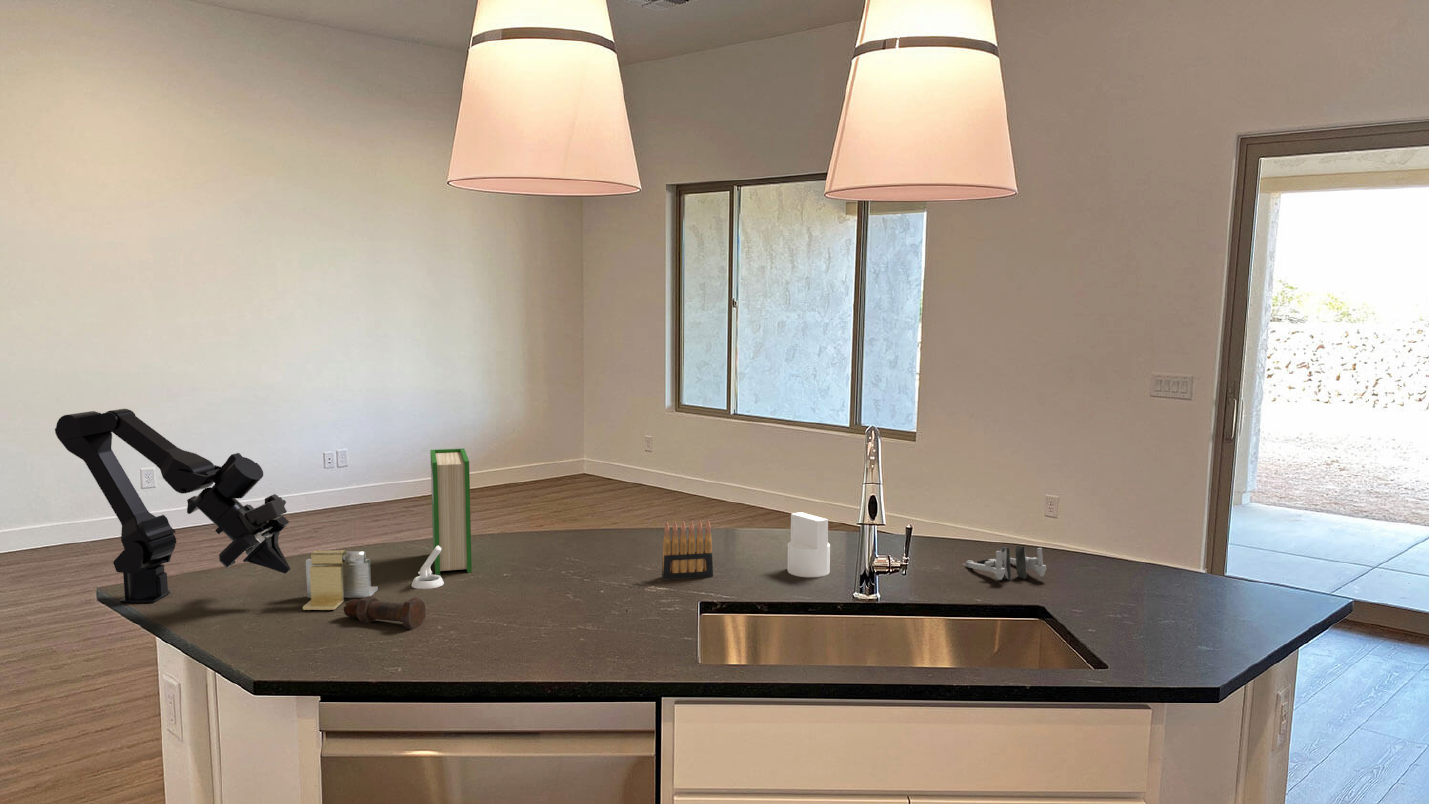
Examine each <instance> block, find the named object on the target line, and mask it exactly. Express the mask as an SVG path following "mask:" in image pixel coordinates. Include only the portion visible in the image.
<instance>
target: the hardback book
mask: <svg viewBox="0 0 1429 804" xmlns="http://www.w3.org/2000/svg"><path fill="white" fill-rule="evenodd" d="M429 454H430V479H431V480H430V481H431V482H430V485H431V520H432V521H431V524H432V525H431V526H432V551H433V550H434V549H435V547H436V546H438V545H439V546H440V547H441V552H440V553H439V555H438V556H437V557H436V559H435V560H434V562H433V564H434V572H435V574H434V575H439V576H441V572H445V571H457V570H459V571H460V570H466V573H469V574H470V573H472V571H473V570H472V568H473V567H472V566H473V565H472V531H471V528H472V527H471V526H472V525H471V524H472V523H471V522H472V521H471V489H470V488H471V486H470V485H471V483H470V480H471V478H470V477H471V475H470V460H469V456H468V453H467V452H466V450H465V448H443V449H441V448H440V449H430V453H429Z"/></svg>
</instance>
